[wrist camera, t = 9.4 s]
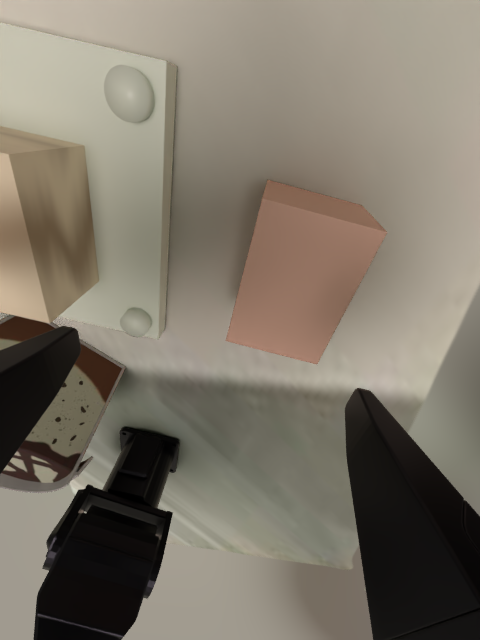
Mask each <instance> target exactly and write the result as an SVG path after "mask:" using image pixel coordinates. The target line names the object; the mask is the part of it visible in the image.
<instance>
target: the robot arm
mask: <svg viewBox="0 0 480 640" xmlns="http://www.w3.org/2000/svg"><path fill="white" fill-rule="evenodd" d="M80 353H81V344H80V340H79V335H78V331H77V330H76V329H75V328H71V327H66V326H61V327H58V328H56V329H53V330H51V331H48V332H46V333H43V334H40V335H38V336H35V337H33V338H30V339H28V340H25V341H23V342H20V343H18V344H15V345H12V346H10V347H7V348H5V349H2V350H0V474H1V473H2V471H3V470H4V469H5V467H6V466H7V464H8V463H9V462H10V460H11V459H12V457H13V456H14V455H15V453H16V452H17V450H18V449H19V448H20V446H21V445H22V443H23V442H24V441H25V439H26V438H27V436H28V435H29V434H30V432H31V431H32V429H33V428H34V427H35V425H36V424H37V422H38V421H39V420H40V418H41V417H42V415H43V414H44V413H45V411H46V410H47V408H48V407H49V406H50V404H51V403H52V401H53V400H54V398H55V397H56V396H57V394H58V392H59V391H60V389H61V387H62V385H63V384H64V382H65V380H66V378H67V377H68V375H69V373H70V371H71V369H72V368H73V366H74V364H75V362H76V361H77V359H78V357H79V355H80ZM345 427H346V453H347V464H348V471H349V478H350V484H351V491H352V498H353V505H354V512H355V518H356V525H357V532H358V539H359V546H360V552H361V559H362V566H363V573H364V580H365V586H366V593H367V600H368V607H369V613H370V620H371V627H372V634H373V640H480V516H479V515H478V514H477V513H476V512H475V510H474V509H473V508H472V507H471V506H470V505H469V504H468V503H467V501H465V500H464V498H463V497H462V496H461V495H460V493H459V492H458V491H457V490H456V489H455V488H454V487H453V485H452V484H451V483H450V482H449V481H448V480H447V478H446V477H445V476H444V475H443V474H442V473H441V471H440V470H439V469H438V468H437V467H436V466H435V465H434V463H433V462H432V461H431V460H430V459H429V458H428V456H427V455H425V453H424V452H423V451H422V450H421V449H420V447H419V446H418V445H417V444H416V443H415V442H414V440H413V439H412V438H411V437H410V436H409V435H408V433H407V432H406V431H405V430H404V429H403V428H402V426H401V425H400V424H399V423H398V422H397V421H396V420H395V418H394V417H393V416H392V415H391V414H390V413H389V412H388V410H387V409H386V408H385V407H384V406H383V405H382V403H381V402H380V401H379V400H378V399H377V398H376V397H375V395H374V394H373V393H372V392H371V391H369V390H365V389H361V388H357V389H355V391H354V392H353V394H352V395H351V397H350V399H349V401H348V402H347V404H346V407H345ZM120 440H121V453H120V455H119V457H118V459H117V461H116V463H115V466H114V468H113V470H112V472H111V474H110V476H109V478H108V480H107V482H106V484H105V486H104V488H103V490H100V489H97V488H94V487H93V486H91V485H87V486H86V488H85V489H82V490H78V492H77V494H76V495H75V497H74V499H73V501H72V503H71V504H70V506H69V508H68V509H67V511H66V512H65V514H64V515H63V517H62V518H61V520H60V521H59V523H58V524H57V526H56V527H55V528H54V530H53V531H52V533H51V534H50V536H49V538H48V540H47V548H48V552H47V555H46V557H47V558H46V560H45V563H44V565H43V569H45V570H49V573H48V574H47V576H46V578H45V580H44V582H43V584H42V586H41V588H40V590H39V592H38V596H37V604H36V617H35V630H34V640H121V639H122V638H123V637H124V635H125V634H126V633H127V632H128V630H129V629H130V628H131V626H132V625H133V624H134V622H135V620H136V618H137V616H138V612H139V609H140V606H141V603H142V600H143V598H148V597H149V596H150V594H151V592H152V589H153V587H154V584H155V581H156V579H157V576H158V573H159V570H160V566H161V562H162V559H163V554H164V550H165V545H166V541H167V536H168V532H169V527H170V523H171V518H172V514H173V512H170V511H167V512H166V511H163V510H160V509H157V507H158V504H159V501H160V498H161V495H162V492H163V489H164V486H165V483H166V480H167V477H168V474H169V472H171V473H174V472H175V471H176V468H177V460H178V451H179V441H178V440H176V439H172V438H168V437H164V436H159V435H155V434H151V433H146V432H142V431H137V430H133V429H129V428H122V429H121V431H120ZM84 511H86V512H87V513H86V514H85V513H84Z"/></svg>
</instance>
